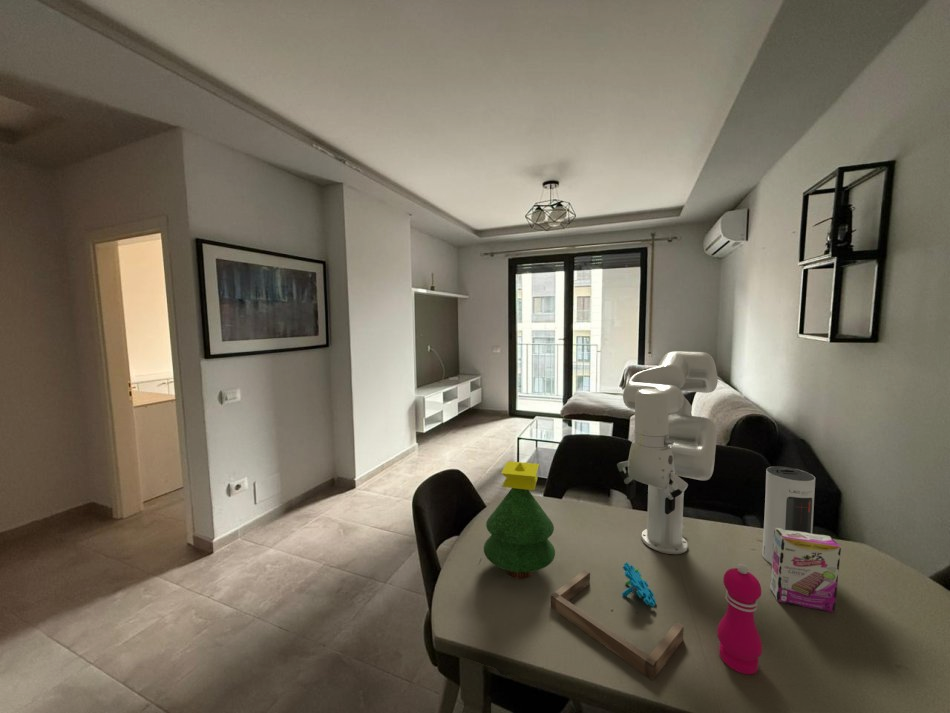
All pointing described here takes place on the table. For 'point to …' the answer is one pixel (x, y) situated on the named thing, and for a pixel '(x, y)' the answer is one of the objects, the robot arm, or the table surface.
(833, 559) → the candy bar box
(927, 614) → the table surface
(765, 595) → the table surface
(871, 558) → the table surface
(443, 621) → the table surface
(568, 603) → the frame
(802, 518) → the speaker
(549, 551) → the decorative tree
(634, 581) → the gear
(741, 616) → the pepper mill
